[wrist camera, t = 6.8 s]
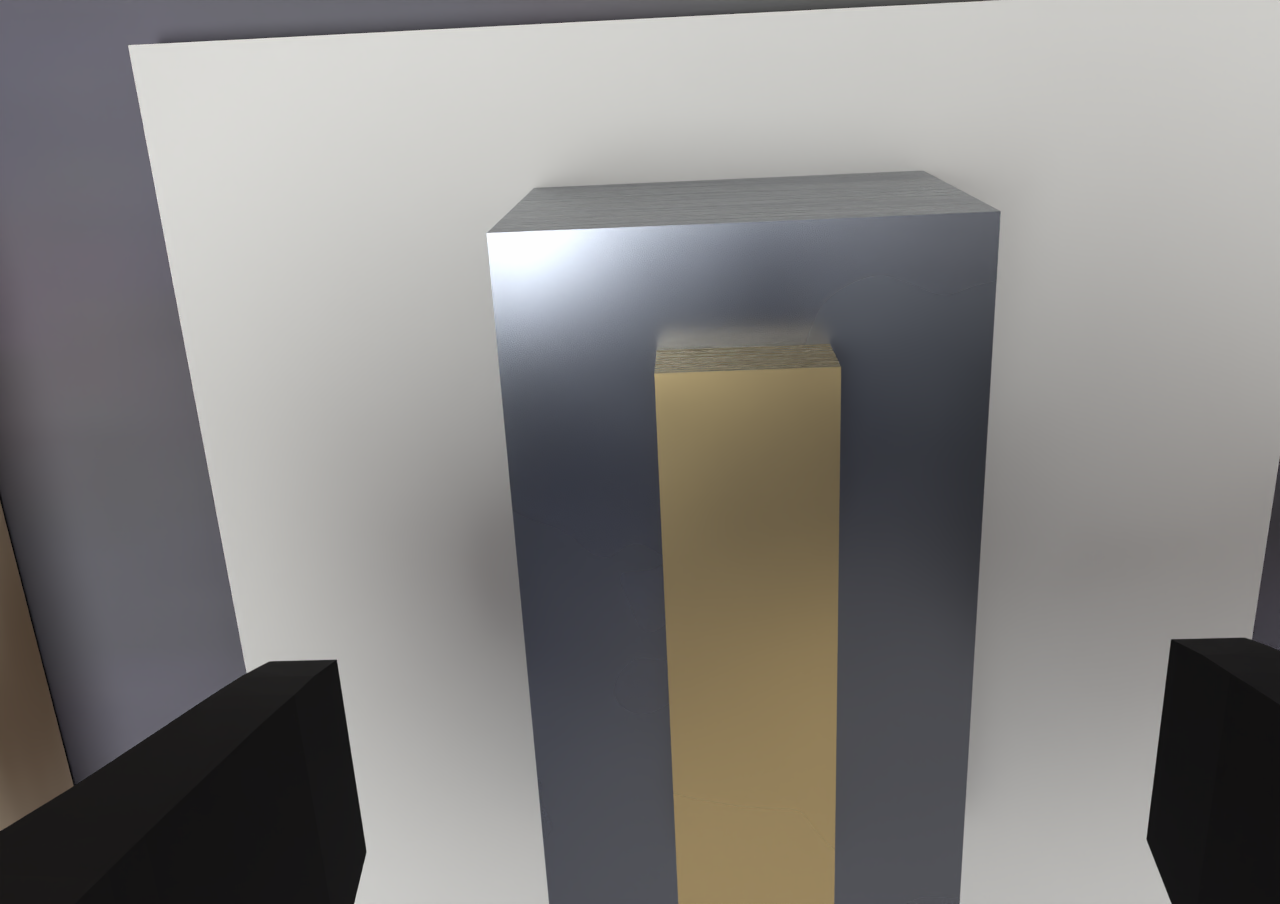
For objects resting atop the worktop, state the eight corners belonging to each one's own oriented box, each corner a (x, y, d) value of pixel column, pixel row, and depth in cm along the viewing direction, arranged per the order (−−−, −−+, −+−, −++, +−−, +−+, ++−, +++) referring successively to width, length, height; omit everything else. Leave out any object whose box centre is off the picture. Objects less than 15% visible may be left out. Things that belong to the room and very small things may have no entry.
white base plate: (1182, 935, 15) (1201, 968, 15) (317, 943, 16) (303, 976, 15) (1320, -16, 11) (1352, -18, 11) (153, 45, 12) (127, 44, 11)
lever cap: (899, 820, 14) (969, 1071, 11) (583, 825, 14) (551, 1074, 11) (923, 170, 12) (1027, 224, 8) (534, 188, 12) (470, 247, 8)
